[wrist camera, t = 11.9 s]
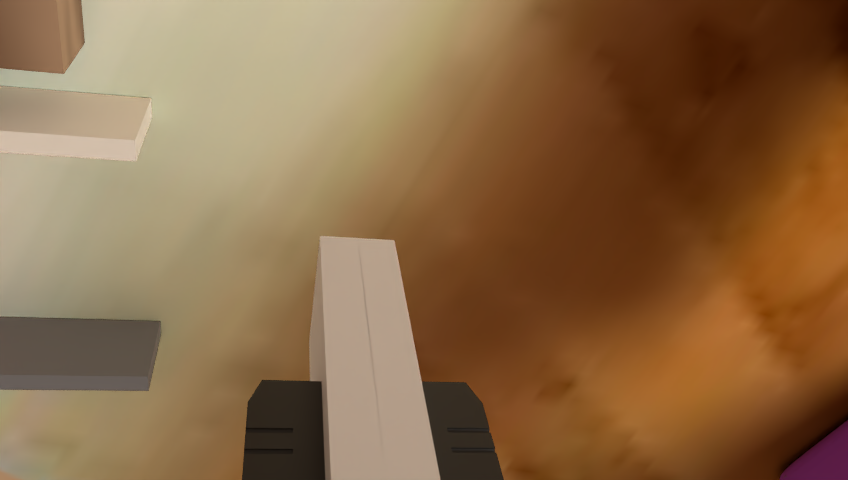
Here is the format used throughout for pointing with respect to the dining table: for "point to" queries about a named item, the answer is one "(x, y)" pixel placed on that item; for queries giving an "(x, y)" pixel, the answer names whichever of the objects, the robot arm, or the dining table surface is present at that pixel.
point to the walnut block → (40, 34)
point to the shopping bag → (823, 459)
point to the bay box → (75, 338)
